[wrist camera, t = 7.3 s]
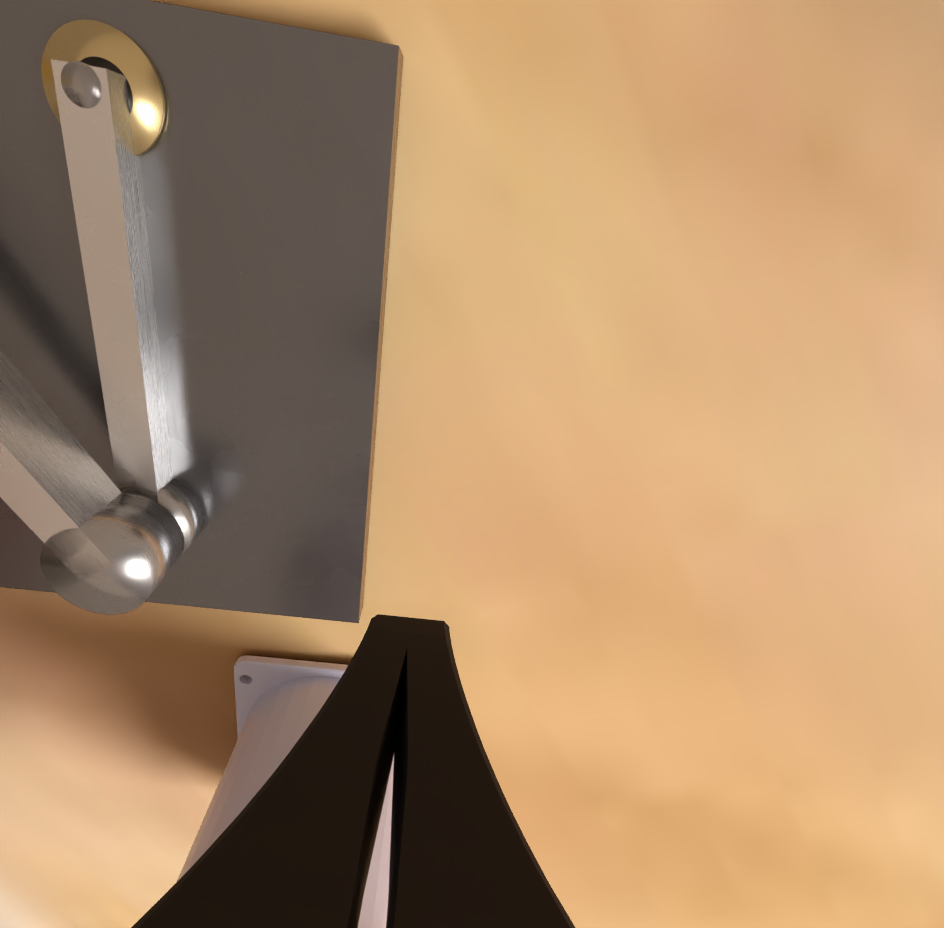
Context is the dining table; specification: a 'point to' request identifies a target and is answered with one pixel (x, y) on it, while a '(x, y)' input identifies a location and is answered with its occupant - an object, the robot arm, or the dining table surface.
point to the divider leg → (79, 508)
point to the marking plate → (203, 281)
